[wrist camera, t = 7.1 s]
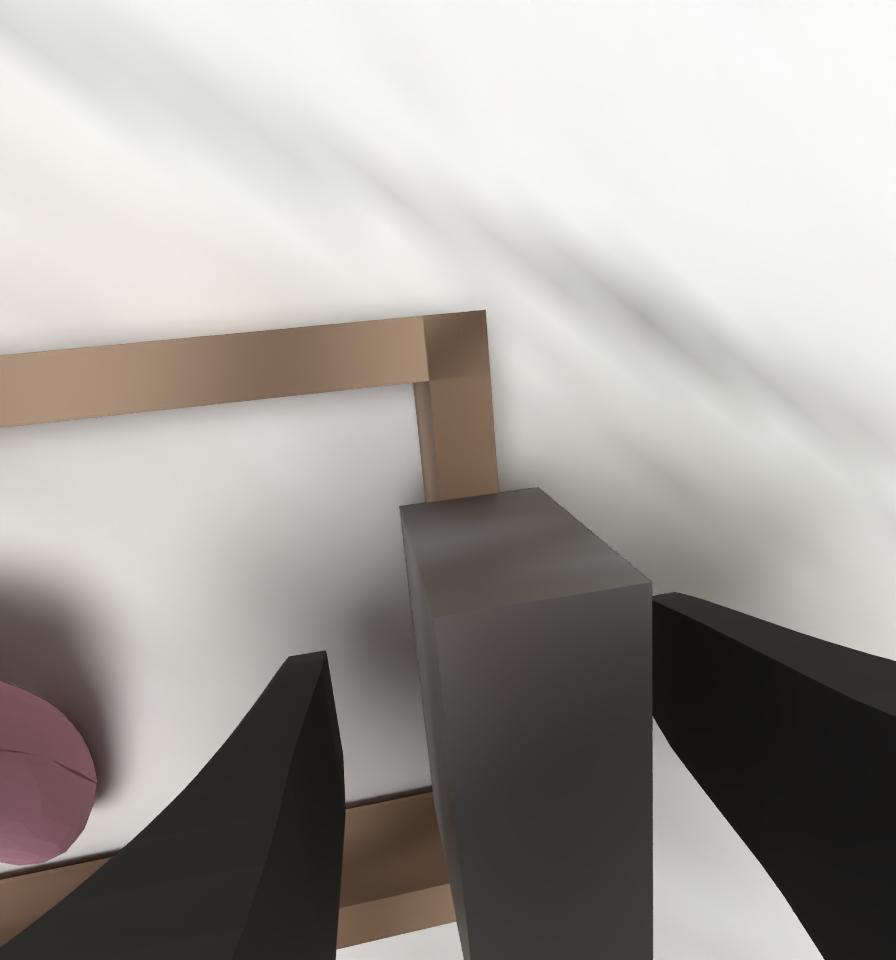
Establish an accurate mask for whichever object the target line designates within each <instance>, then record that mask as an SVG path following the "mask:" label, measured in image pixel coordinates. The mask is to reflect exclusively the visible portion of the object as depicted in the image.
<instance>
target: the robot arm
mask: <svg viewBox="0 0 896 960" xmlns="http://www.w3.org/2000/svg"><path fill="white" fill-rule="evenodd" d="M652 715H653V717H654V719H655V721H656V722H657V724H658V726H659V728H660V729H661V731H662V733H663V734H664V736H665V738H666V739H667V741H668V743H669V744H670V746H671V748H672V749H673V750H674V752H675V753H676V754H677V756H678V757H679V759H680V760H681V761H682V762H683V764H684V765H685V766H686V768H687V769H688V770H689V772H690V773H691V774H692V776H693V777H694V778H695V780H696V781H697V782H698V784H699V785H700V786H701V787H702V789H703V790H704V791H705V793H706V794H707V795H708V796H709V798H710V799H711V800H712V802H713V803H714V804H715V805H716V807H717V808H718V809H719V811H720V812H721V813H722V814H723V816H724V817H725V818H726V820H727V821H728V822H729V823H730V825H731V826H732V827H733V829H734V830H735V831H736V832H737V834H738V835H739V836H740V838H741V839H742V840H743V842H744V843H745V844H746V845H747V847H748V848H749V849H750V851H751V852H752V853H753V854H754V856H755V857H756V858H757V860H758V861H759V862H760V863H761V865H762V866H763V867H764V869H765V870H766V872H767V873H768V874H769V876H770V877H771V879H772V880H773V881H774V883H775V884H776V886H777V887H778V888H779V890H780V891H781V893H782V894H783V896H784V897H785V899H786V900H787V902H788V903H789V905H790V906H791V908H792V909H793V911H794V913H795V914H796V916H797V917H798V919H799V920H800V922H801V924H802V925H803V927H804V928H805V930H806V931H807V933H808V934H809V936H810V938H811V939H812V941H813V942H814V944H815V945H816V947H817V948H818V950H819V952H820V953H821V955H822V956H823V958H824V959H825V960H896V661H893V660H890V659H886V658H882V657H878V656H875V655H871V654H868V653H864V652H861V651H858V650H854V649H851V648H847V647H844V646H841V645H837V644H834V643H831V642H827V641H824V640H821V639H818V638H815V637H812V636H809V635H806V634H802V633H799V632H796V631H793V630H790V629H787V628H784V627H782V626H779V625H776V624H773V623H770V622H767V621H764V620H761V619H758V618H755V617H753V616H750V615H747V614H744V613H741V612H738V611H735V610H732V609H730V608H727V607H724V606H721V605H718V604H715V603H712V602H709V601H706V600H703V599H699V598H696V597H693V596H689V595H685V594H681V593H676V592H673V593H667V594H661V595H655V596H652ZM345 817H346V811H345V785H344V763H343V751H342V745H341V739H340V733H339V727H338V720H337V714H336V708H335V702H334V696H333V689H332V683H331V677H330V671H329V665H328V659H327V652H326V651H320V652H314V653H308V654H302V655H296V656H290V657H288V658H287V659H286V661H285V662H284V663H283V664H282V666H281V667H280V669H279V670H278V671H277V673H276V674H275V676H274V677H273V678H272V680H271V681H270V683H269V684H268V686H267V687H266V688H265V690H264V691H263V693H262V694H261V695H260V697H259V698H258V700H257V701H256V702H255V704H254V705H253V707H252V708H251V709H250V710H249V712H248V713H247V714H246V716H245V717H244V718H243V720H242V721H241V722H240V724H239V725H238V726H237V728H236V729H235V730H234V731H233V733H232V734H231V735H230V737H229V738H228V739H227V740H226V742H225V743H224V744H223V745H222V747H221V748H220V749H219V750H218V751H217V752H216V754H215V755H214V756H213V757H212V758H211V759H210V761H209V762H208V763H207V764H206V765H205V766H204V768H203V769H202V770H201V771H200V772H199V773H198V775H197V776H196V777H195V778H194V779H193V780H192V781H191V782H190V783H189V785H188V786H187V787H186V788H185V789H184V790H183V791H182V792H181V793H180V794H179V795H178V796H177V797H176V798H175V799H174V800H173V801H172V802H171V803H170V804H169V805H168V806H167V807H166V808H165V809H164V810H163V811H162V812H161V813H160V814H159V815H158V816H157V817H156V818H155V819H154V820H153V821H152V822H151V823H150V824H149V825H148V826H147V827H146V828H145V829H143V830H142V831H141V832H140V833H139V834H138V835H137V836H136V837H135V838H134V839H133V840H132V841H131V842H129V843H128V844H127V845H126V846H125V847H124V848H122V849H121V850H120V851H119V852H118V853H117V854H115V855H114V856H113V857H112V858H111V859H110V860H108V861H107V862H106V863H105V864H104V865H102V866H101V867H100V868H99V869H98V870H97V871H95V872H94V873H93V874H92V875H91V876H90V877H88V878H87V879H86V880H85V881H84V882H83V883H81V884H80V885H79V886H78V887H77V888H76V889H74V890H73V891H72V892H71V893H70V894H68V895H67V896H66V897H65V898H64V899H62V900H61V901H60V902H59V903H57V904H56V905H55V906H54V907H52V908H51V909H50V910H49V911H47V912H46V913H45V914H43V915H42V916H41V917H39V918H38V919H37V920H36V921H34V922H33V923H32V924H30V925H29V926H28V927H26V928H25V929H24V930H23V931H21V932H20V933H19V934H17V935H16V936H15V937H13V938H12V939H11V940H9V941H8V942H7V943H5V944H4V945H2V946H1V947H0V960H336V946H337V932H338V918H339V904H340V890H341V876H342V862H343V847H344V833H345Z"/></svg>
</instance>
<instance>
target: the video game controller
mask: <svg viewBox="0 0 896 960" xmlns="http://www.w3.org/2000/svg"><path fill="white" fill-rule="evenodd" d="M96 784H97V778H96V772H95V767H94V763H93V760H92V757H91V755H90V752H89V749H88V747H87V745H86V743H85V741H84V739H83V737H82V736H81V734H80V733H79V732H78V730H77V729H76V728H75V727H74V726H73V724H72V723H71V722H70V721H69V720H68V719H67V717H66V716H65V715H64V714H63V713H62V712H60V711H59V710H58V709H57V708H55V707H54V706H53V705H51V704H50V703H49V702H48V701H46V700H44V699H42V698H40V697H37V696H35V695H33V694H31V693H29V692H27V691H25V690H23V689H21V688H19V687H16V686H13V685H10V684H7V683H4V682H1V681H0V862H2V863H8V864H14V865H28V864H38V863H44V862H46V861H48V860H50V859H52V858H54V857H56V856H58V855H60V854H62V853H64V852H66V851H67V850H68V848H69V847H70V846H71V845H72V844H73V843H74V842H75V841H76V839H77V838H78V837H79V835H80V834H81V833H82V831H83V830H84V828H85V826H86V823H87V820H88V818H89V815H90V812H91V810H92V807H93V804H94V799H95V792H96Z"/></svg>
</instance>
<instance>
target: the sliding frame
mask: <svg viewBox="0 0 896 960" xmlns="http://www.w3.org/2000/svg"><path fill="white" fill-rule="evenodd" d="M404 383H413V386H414V395H415V405H416V414H417V424H418V433H419V443H420V452H421V462H422V471H423V481H424V490H425V500H426V503H420V504H413V505H405V506H399V508H400V517H401V525H402V534H403V542H404V551H405V559H406V568H407V577H408V585H409V594H410V602H411V611H412V619H413V628H414V636H415V645H416V653H417V662H418V670H419V679H420V687H421V696H422V704H423V713H424V721H425V730H426V738H427V747H428V755H429V764H430V772H431V781H432V789H433V792H429V793H424V794H419V795H414V796H409V797H405V798H400V799H395V800H390V801H385V802H380V803H375V804H370V805H365V806H360V807H355V808H351V809H346V810H345V811H346V817H345V833H344V847H343V862H342V876H341V890H340V904H339V918H338V932H337V946H336V949H341V948H345V947H349V946H353V945H358V944H362V943H366V942H370V941H375V940H379V939H383V938H387V937H392V936H396V935H400V934H404V933H409V932H413V931H417V930H422V929H426V928H430V927H434V926H439V925H443V924H447V923H451V922H456V921H457V925H458V931H459V936H460V941H461V946H462V951H463V957H464V960H653V773H652V582H651V581H650V580H649V579H648V578H647V577H645V576H644V575H643V574H642V573H641V572H639V571H638V570H637V569H636V568H635V567H633V566H632V565H631V564H630V563H629V562H627V561H626V560H625V559H624V558H623V557H621V556H620V555H619V554H618V553H617V552H615V551H614V550H613V549H612V548H611V547H609V546H608V545H607V544H606V543H605V542H603V541H602V540H601V539H600V538H599V537H597V536H596V535H595V534H594V533H593V532H591V531H590V530H589V529H588V528H587V527H585V526H584V525H583V524H582V523H581V522H579V521H578V520H577V519H576V518H575V517H573V516H572V515H571V514H570V513H569V512H567V511H566V510H565V509H564V508H563V507H561V506H560V505H559V504H558V503H557V502H555V501H554V500H553V499H552V498H551V497H549V496H548V495H547V494H546V493H545V492H543V491H542V490H541V489H540V488H539V487H537V488H529V489H522V490H515V491H508V492H500V493H499V490H498V476H497V462H496V448H495V435H494V421H493V407H492V393H491V379H490V365H489V351H488V337H487V323H486V310H480V311H469V312H459V313H448V314H437V315H427V316H416V317H405V318H395V319H384V320H374V321H363V322H352V323H342V324H331V325H320V326H310V327H299V328H288V329H278V330H267V331H257V332H246V333H235V334H225V335H214V336H203V337H193V338H182V339H171V340H161V341H150V342H140V343H129V344H118V345H108V346H97V347H86V348H76V349H65V350H54V351H44V352H33V353H23V354H12V355H1V356H0V428H1V427H10V426H19V425H29V424H38V423H47V422H56V421H65V420H74V419H84V418H93V417H102V416H111V415H120V414H129V413H139V412H148V411H157V410H166V409H175V408H184V407H194V406H203V405H212V404H221V403H230V402H239V401H249V400H258V399H267V398H276V397H285V396H294V395H304V394H313V393H322V392H331V391H340V390H349V389H359V388H368V387H377V386H386V385H395V384H404ZM111 858H112V857H110V858H105V859H100V860H95V861H90V862H85V863H80V864H75V865H70V866H66V867H61V868H56V869H51V870H46V871H41V872H36V873H31V874H26V875H21V876H16V877H11V878H7V879H2V880H0V947H1V946H2V945H4V944H5V943H7V942H8V941H9V940H11V939H12V938H13V937H15V936H16V935H17V934H19V933H20V932H21V931H23V930H24V929H25V928H26V927H28V926H29V925H30V924H32V923H33V922H34V921H36V920H37V919H38V918H39V917H41V916H42V915H43V914H45V913H46V912H47V911H49V910H50V909H51V908H52V907H54V906H55V905H56V904H57V903H59V902H60V901H61V900H62V899H64V898H65V897H66V896H67V895H68V894H70V893H71V892H72V891H73V890H74V889H76V888H77V887H78V886H79V885H80V884H81V883H83V882H84V881H85V880H86V879H87V878H88V877H90V876H91V875H92V874H93V873H94V872H95V871H97V870H98V869H99V868H100V867H101V866H102V865H104V864H105V863H106V862H107V861H108V860H110V859H111Z"/></svg>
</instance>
